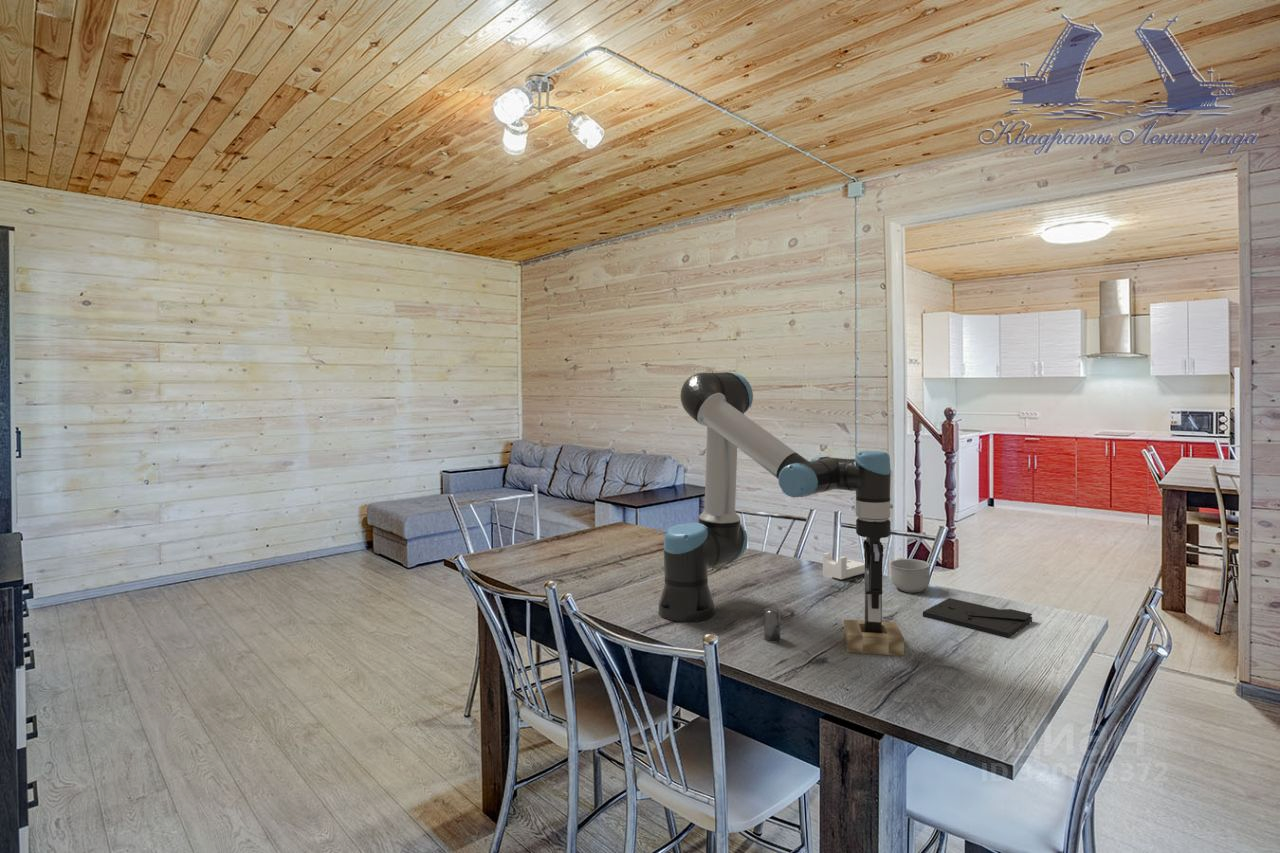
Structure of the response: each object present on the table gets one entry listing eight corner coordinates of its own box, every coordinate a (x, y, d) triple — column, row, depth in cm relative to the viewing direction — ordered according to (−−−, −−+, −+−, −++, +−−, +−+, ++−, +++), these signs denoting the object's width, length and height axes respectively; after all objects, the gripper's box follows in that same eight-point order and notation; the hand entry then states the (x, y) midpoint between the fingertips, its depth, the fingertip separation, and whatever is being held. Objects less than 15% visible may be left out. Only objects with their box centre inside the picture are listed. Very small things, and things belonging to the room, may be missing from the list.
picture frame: (1032, 624, 167) (949, 605, 183) (1032, 613, 167) (949, 595, 183) (1008, 641, 157) (922, 619, 172) (1008, 630, 157) (922, 608, 172)
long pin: (865, 636, 152) (865, 572, 151) (863, 630, 156) (863, 567, 155) (883, 637, 151) (883, 572, 151) (880, 631, 155) (880, 568, 154)
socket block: (847, 651, 150) (847, 634, 150) (843, 635, 160) (844, 619, 160) (903, 655, 148) (903, 638, 148) (896, 638, 158) (896, 622, 157)
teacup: (933, 596, 188) (933, 568, 188) (893, 594, 191) (893, 567, 190) (922, 581, 202) (923, 556, 202) (885, 580, 204) (885, 555, 204)
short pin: (763, 641, 157) (763, 612, 157) (764, 635, 161) (764, 607, 161) (780, 642, 157) (780, 613, 156) (780, 636, 160) (780, 608, 160)
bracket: (841, 582, 204) (841, 558, 203) (822, 577, 210) (822, 553, 209) (867, 574, 211) (867, 551, 211) (848, 570, 217) (848, 547, 217)
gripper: (896, 526, 143) (896, 632, 144) (884, 511, 160) (884, 606, 161) (860, 525, 145) (860, 630, 146) (852, 511, 161) (852, 605, 163)
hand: (873, 617), depth 153 cm, fingers closed on long pin, 4 cm apart
